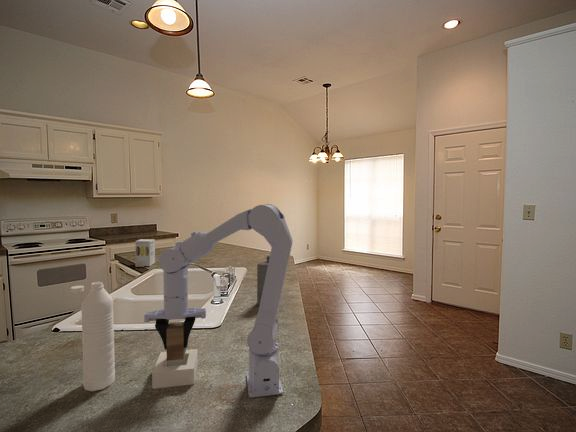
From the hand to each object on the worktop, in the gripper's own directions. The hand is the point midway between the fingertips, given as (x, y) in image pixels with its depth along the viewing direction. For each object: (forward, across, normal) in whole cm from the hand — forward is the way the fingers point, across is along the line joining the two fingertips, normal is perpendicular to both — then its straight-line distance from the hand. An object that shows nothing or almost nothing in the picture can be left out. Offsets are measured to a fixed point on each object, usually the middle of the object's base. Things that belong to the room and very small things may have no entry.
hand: (176, 346), depth 76 cm
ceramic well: (+8, 0, 0) cm, 8 cm away
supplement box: (+8, +39, -130) cm, 136 cm away
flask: (+8, -32, -51) cm, 60 cm away
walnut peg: (+2, 0, 0) cm, 3 cm away
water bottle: (+8, +18, +1) cm, 20 cm away
